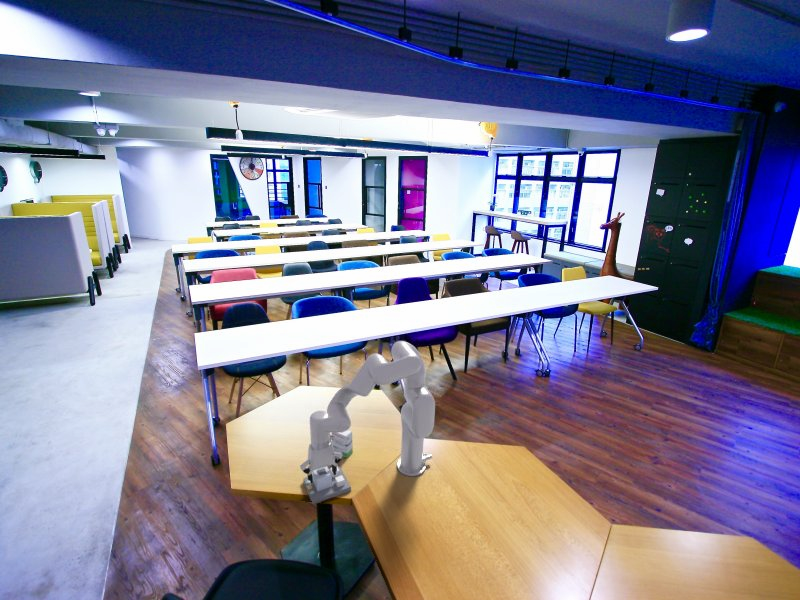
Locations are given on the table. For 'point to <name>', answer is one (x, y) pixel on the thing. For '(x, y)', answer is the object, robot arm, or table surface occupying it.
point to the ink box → (343, 442)
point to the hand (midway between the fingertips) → (322, 476)
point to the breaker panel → (338, 487)
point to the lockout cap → (322, 478)
